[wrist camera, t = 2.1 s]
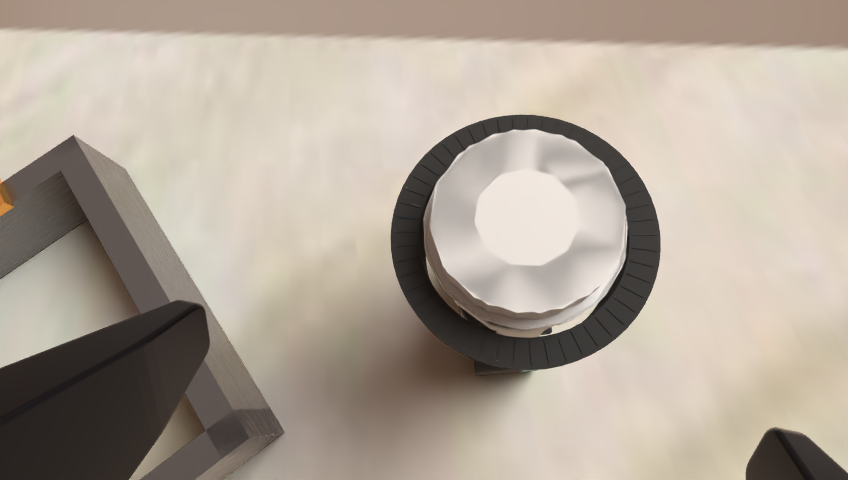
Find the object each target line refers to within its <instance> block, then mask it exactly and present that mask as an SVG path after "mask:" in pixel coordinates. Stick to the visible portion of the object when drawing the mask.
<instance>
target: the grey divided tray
mask: <svg viewBox="0 0 848 480" xmlns="http://www.w3.org/2000/svg"><path fill="white" fill-rule="evenodd" d="M86 219H88V220H89V222H90V224H91V226H92V227H93V229H94V231H95V233H96V235H97V236H98V238H99V240H100V242H101V244H102V245H103V247H104V249H105V251H106V253H107V254H108V256H109V258H110V260H111V262H112V263H113V265H114V267H115V269H116V270H117V272H118V274H119V276H120V278H121V279H122V281H123V283H124V285H125V287H126V288H127V290H128V292H129V294H130V296H131V297H132V299H133V301H134V303H135V305H136V306H137V308H138V310H139V312H140V314H142V313H144V312H147V311H149V310H152V309H155V308H157V307H160V306H162V305H165V304H167V303H170V302H173V301H175V300H180V299H181V300H188V301H192V302H197V303H200V304H202V305H203V306H204V308H205V311H206V317H207V324H208V330H209V337H210V346H209V350H208V353H207V355H206V357H205V359H204V361H203V362H202V364H201V366H200V368H199V370H198V371H197V373H196V375H195V377H194V378H193V380H192V382H191V384H190V385H189V387H188V389H187V391H186V392H185V394H186V396H187V398H188V400H189V402H190V403H191V405H192V407H193V409H194V411H195V412H196V414H197V416H198V418H199V420H200V421H201V423H202V425H203V427H204V429H205V430H206V431H204V432H203V433H202V434H200V435H199V436H198V437H196V438H195V439H194V440H192V441H191V442H190V443H188V444H187V445H186V446H184V447H183V448H182V449H180V450H179V451H178V452H176V453H175V454H174V455H172V456H171V457H170V458H168V459H167V460H166V461H164V462H163V463H162V464H160V465H159V466H158V467H156V468H155V469H154V470H152V471H151V472H149V473H148V474H147V475H145V476H144V477H143V478H141V479H140V480H223V479H224V478H225V477H226V476H228V475H229V474H230V473H232V472H233V471H234V470H236V469H237V468H238V467H240V466H241V465H242V464H244V463H245V462H246V461H247V460H249V459H250V458H251V457H253V456H254V455H255V454H257V453H258V452H259V451H261V450H262V449H263V448H264V447H266V446H267V445H268V444H270V443H271V442H272V441H274V440H275V439H276V438H278V437H279V436H280V435H282V434H283V433H284V430H283V429H282V427H281V426H280V424H279V422H278V421H277V419H276V417H275V416H274V414H273V412H272V411H271V409H270V407H269V406H268V404H267V402H266V401H265V399H264V397H263V396H262V394H261V393H260V391H259V389H258V388H257V386H256V384H255V383H254V381H253V379H252V378H251V376H250V374H249V373H248V371H247V369H246V368H245V366H244V364H243V363H242V361H241V360H240V358H239V356H238V355H237V353H236V351H235V350H234V348H233V346H232V345H231V343H230V341H229V340H228V338H227V336H226V335H225V333H224V331H223V330H222V328H221V327H220V325H219V323H218V322H217V320H216V318H215V317H214V315H213V313H212V312H211V310H210V308H209V307H208V305H207V303H206V302H205V300H204V298H203V297H202V295H201V294H200V292H199V290H198V289H197V287H196V285H195V284H194V282H193V280H192V279H191V277H190V275H189V274H188V272H187V270H186V269H185V267H184V265H183V264H182V262H181V261H180V259H179V257H178V256H177V254H176V252H175V251H174V249H173V247H172V246H171V244H170V242H169V241H168V239H167V237H166V236H165V234H164V232H163V231H162V229H161V228H160V226H159V224H158V223H157V221H156V219H155V218H154V216H153V214H152V213H151V211H150V209H149V208H148V206H147V204H146V203H145V201H144V199H143V198H142V196H141V195H140V193H139V191H138V190H137V188H136V186H135V185H134V183H133V181H132V180H131V178H130V176H129V175H128V173H127V171H126V170H125V169H124V168H123V167H121V166H120V165H118V164H117V163H115V162H114V161H112V160H111V159H109V158H108V157H106V156H104V155H103V154H101V153H100V152H98V151H97V150H95V149H94V148H92V147H91V146H89V145H88V144H86V143H85V142H83V141H82V140H80V139H79V138H77V137H75V136H74V135H73V136H71V137H70V138H68V139H67V140H65V141H64V142H62V143H61V144H59V145H58V146H56V147H55V148H53V149H52V150H50V151H49V152H47V153H46V154H44V155H43V156H41V157H40V158H38V159H37V160H35V161H34V162H32V163H31V164H29V165H28V166H26V167H25V168H23V169H22V170H20V171H19V172H17V173H16V174H14V175H13V176H11V177H10V178H8V179H7V180H5V181H4V182H1V180H0V278H2V277H3V276H5V275H6V274H8V273H9V272H11V271H12V270H13V269H15V268H16V267H18V266H19V265H21V264H22V263H24V262H25V261H27V260H28V259H29V258H31V257H32V256H34V255H35V254H37V253H38V252H40V251H41V250H43V249H44V248H46V247H47V246H48V245H50V244H51V243H53V242H54V241H56V240H57V239H59V238H60V237H62V236H63V235H65V234H66V233H67V232H69V231H70V230H72V229H73V228H75V227H76V226H78V225H79V224H81V223H82V222H84V221H85V220H86Z"/></svg>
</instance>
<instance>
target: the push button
mask: <svg viewBox="0 0 848 480" xmlns="http://www.w3.org/2000/svg"><path fill="white" fill-rule="evenodd" d="M391 252H392V259H393V264H394V268H395V272H396V276H397V279H398V281H399V284H400V286H401V289H402V291H403V293H404V295H405V297H406V299H407V301H408V302H409V304H410V305H411V307H412V308H413V310H414V311H415V313H416V314H417V316H418V317H419V318H420V319H421V321H422V322H423V323H424V324H425V325H426V327H427V328H428V329H429V330H430V331H432V332H433V333H434V334H435V335H436V336H437V337H438V338H439V339H441V340H442V341H443V342H444V343H446V344H447V345H448V346H450V347H451V348H453V349H455V350H456V351H458V352H459V353H461V354H463V355H465V356H468V357H470V358H472V359H474V365H475V374H476V376H481V375H493V374H504V373H515V372H526V371H537V370H539V369H548V368H554V367H559V366H563V365H566V364H569V363H572V362H575V361H578V360H580V359H582V358H585V357H587V356H589V355H592V354H593V353H595V352H597V351H599V350H600V349H602V348H604V347H605V346H607V345H608V344H609V343H611V342H612V341H613V340H615V339H616V338H617V337H618V336H619V335H620V334H621V333H623V332H624V331H625V330H626V329H627V328H628V327H629V325H630V324H631V323H632V322H633V321H634V319H635V318H636V317H637V316H638V314H639V313H640V311H641V310H642V308H643V306H644V305H645V303H646V301H647V299H648V297H649V295H650V293H651V291H652V288H653V285H654V282H655V279H656V276H657V271H658V267H659V260H660V230H659V223H658V219H657V215H656V211H655V207H654V205H653V202H652V199H651V197H650V195H649V193H648V191H647V189H646V187H645V185H644V183H643V181H642V180H641V178H640V177H639V175H638V174H637V172H636V171H635V170H634V168H633V167H632V166H631V165H630V163H629V162H628V161H627V160H626V159H625V158H624V157H623V156H622V155H621V154H620V153H619V152H618V151H617V150H616V149H615V148H613V147H612V146H611V145H610V144H608V143H607V142H606V141H604V140H603V139H601V138H600V137H598V136H597V135H595V134H593V133H591V132H589V131H588V130H586V129H584V128H581V127H579V126H577V125H574V124H572V123H569V122H565V121H562V120H559V119H554V118H550V117H544V116H536V115H509V116H501V117H495V118H490V119H487V120H483V121H479V122H477V123H474V124H471V125H469V126H466V127H464V128H462V129H460V130H458V131H456V132H454V133H453V134H451V135H449V136H448V137H446V138H445V139H443V140H442V141H441V142H439V143H438V144H437V145H435V146H434V147H433V148H432V149H431V150H430V151H429V152H428V153H427V154H425V156H424V157H423V158H422V159H421V160H420V161H419V162H418V164H417V165H416V166H415V168H414V169H413V170H412V172H411V173H410V175H409V176H408V178H407V180H406V182H405V183H404V185H403V187H402V190H401V192H400V194H399V197H398V199H397V203H396V206H395V209H394V214H393V219H392V227H391ZM426 257H427V260H428V262H429V263H430V265H431V267H432V269H433V271H434V273H435V275H436V277H437V279H438V281H439V283H440V285H441V287H442V288H443V289H444V291H445V292H446V293H447V294H448V295H449V296H450V297H451V298H453V299H454V301H455V303H456V304H457V305H458V306H459V307H460V311H461V316H460V315H459V314H457V313H456V312H455V311H454V310H453V309H452V308H451V307H450V306H448V305H447V303H446V302H445V301H444V300H443V299H442V298H441V297H440V295H439V294H438V292H437V291H436V290H435V288H434V287H433V285H432V283H431V281H430V279H429V276H428V271H427V265H426ZM599 301H600V302H599ZM598 302H599V303H598ZM597 303H598V305H597V306H596V308H595V309H594V310H593V312H592V313H591V314H590V315H589V316H588V317H587V319H585V320H584V321H583V322H582V323H580V324H578V325H576V326H575V327H573V328H571V329H568V330H565V331H562V332H560V333H556V334H552V335H548V336H542V337H539V336H540V335H545V334H550V333H551V332H552V326H554V325H560V324H563V323H566V322H569V321H571V320H573V319H574V318H576V317H577V316H579V315H580V314H582V313H583V312H585V311H586V310H588V309H589V308H591V307H592V306H594V305H595V304H597Z"/></svg>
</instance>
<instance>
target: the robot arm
mask: <svg viewBox="0 0 848 480" xmlns="http://www.w3.org/2000/svg"><path fill="white" fill-rule="evenodd" d="M209 346H210V337H209V330H208V324H207V317H206V311H205V308H204V306H203V305H202V304H200V303H197V302H192V301H188V300H181V299H180V300H175V301H173V302H170V303H167V304H165V305H162V306H160V307H157V308H155V309H152V310H149V311H147V312H144V313H142V314H139V315H136V316H134V317H131V318H129V319H126V320H124V321H121V322H118V323H116V324H113V325H111V326H108V327H105V328H103V329H100V330H98V331H95V332H93V333H90V334H87V335H85V336H82V337H80V338H77V339H74V340H72V341H69V342H67V343H64V344H61V345H59V346H56V347H54V348H51V349H49V350H46V351H43V352H41V353H38V354H36V355H33V356H30V357H28V358H25V359H23V360H20V361H18V362H15V363H12V364H10V365H7V366H5V367H2V368H0V480H129V479H130V477H131V476H132V475H133V473H134V472H135V470H136V469H137V468H138V466H139V465H140V463H141V462H142V461H143V459H144V458H145V456H146V455H147V454H148V452H149V451H150V449H151V448H152V446H153V445H154V444H155V442H156V441H157V439H158V438H159V436H160V435H161V433H162V432H163V430H164V429H165V427H166V425H167V424H168V422H169V420H170V419H171V417H172V415H173V413H174V412H175V410H176V408H177V406H178V405H179V403H180V401H181V399H182V398H183V396H184V394H185V392H186V391H187V389H188V387H189V385H190V384H191V382H192V380H193V378H194V377H195V375H196V373H197V371H198V370H199V368H200V366H201V364H202V362H203V361H204V359H205V357H206V355H207V353H208V350H209ZM746 480H848V473H847V472H846V471H845V470H844V469H843V468H842V467H841V466H839V465H838V464H837V463H836V462H835V461H834V460H833V459H832V458H831V457H829V456H828V455H827V454H826V453H825V452H824V451H823V450H822V449H821V448H820V447H818V446H817V445H816V444H815V443H814V442H813V441H812V440H811V439H810V438H808V437H807V436H806V435H804V434H802V433H799V432H796V431H791V430H786V429H782V428H776V427H775V428H770V429H769V430H767V431H766V433H765V434H764V436H763V438H762V439H761V441H760V443H759V445H758V446H757V448H756V450H755V451H754V453H753V455H752V457H751V458H750V460H749V462H748V464H747V468H746Z"/></svg>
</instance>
